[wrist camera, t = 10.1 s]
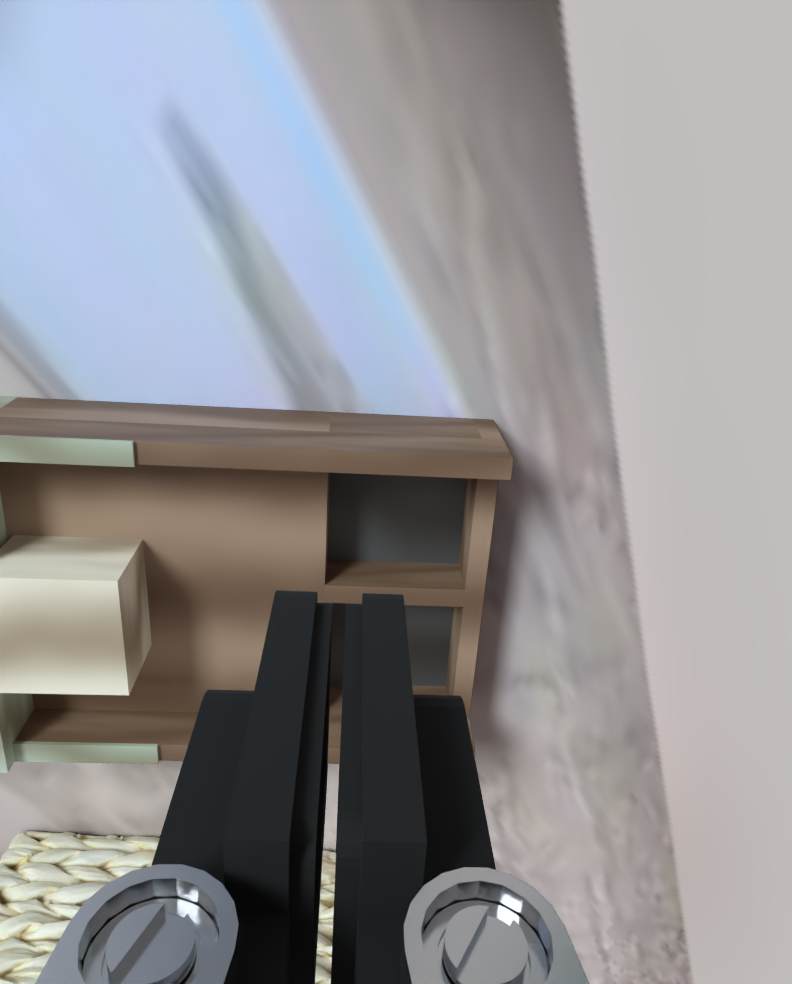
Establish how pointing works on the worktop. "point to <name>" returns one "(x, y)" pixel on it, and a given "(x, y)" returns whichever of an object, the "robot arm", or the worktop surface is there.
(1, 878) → the storage basket
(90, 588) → the birch block
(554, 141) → the worktop surface
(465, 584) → the box
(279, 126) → the worktop surface
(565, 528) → the worktop surface
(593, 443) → the worktop surface
